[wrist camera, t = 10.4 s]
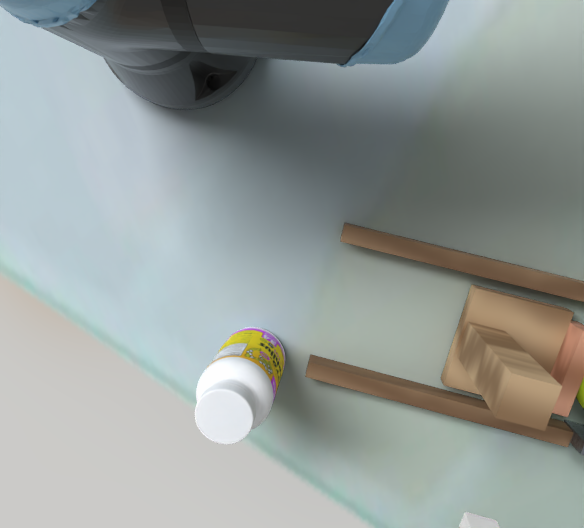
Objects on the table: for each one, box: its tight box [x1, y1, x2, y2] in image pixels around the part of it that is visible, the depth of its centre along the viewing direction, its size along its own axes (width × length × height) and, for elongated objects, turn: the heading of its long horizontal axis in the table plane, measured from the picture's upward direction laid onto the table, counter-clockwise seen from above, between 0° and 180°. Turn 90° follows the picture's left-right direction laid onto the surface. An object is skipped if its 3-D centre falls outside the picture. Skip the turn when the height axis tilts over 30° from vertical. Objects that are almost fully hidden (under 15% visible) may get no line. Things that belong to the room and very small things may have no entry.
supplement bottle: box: [195, 327, 285, 444], centre depth 42 cm, size 7×7×13 cm
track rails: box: [305, 223, 584, 447], centre depth 44 cm, size 16×26×2 cm, turn 77°
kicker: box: [441, 285, 584, 431], centre depth 38 cm, size 10×10×13 cm
